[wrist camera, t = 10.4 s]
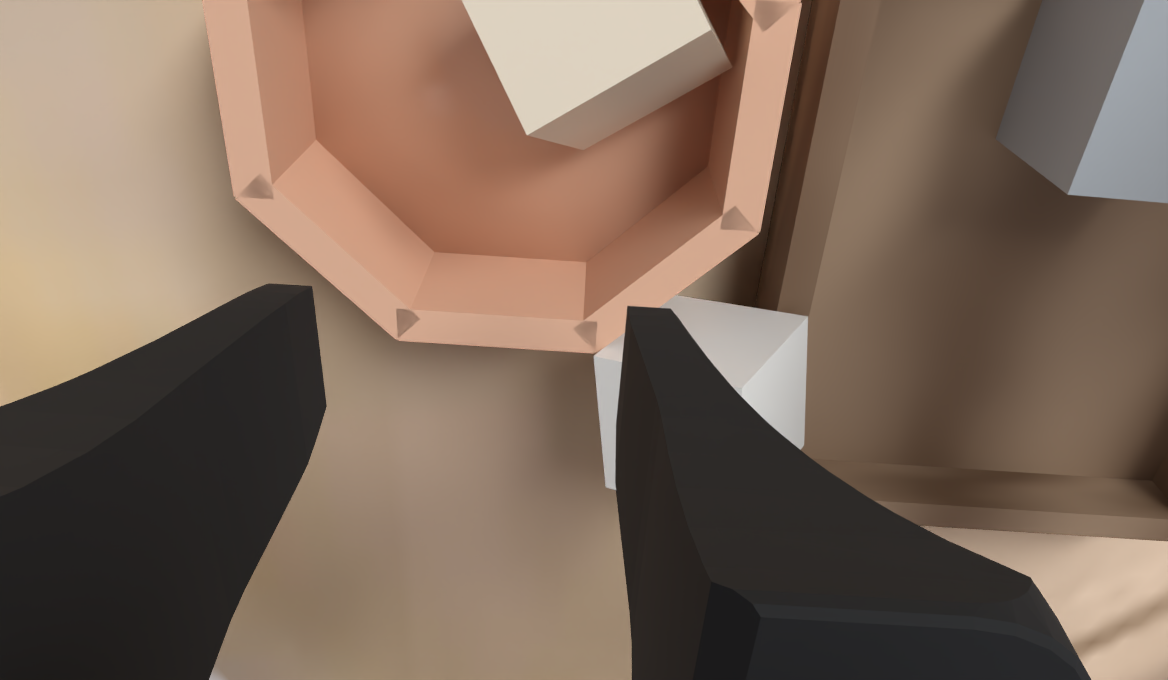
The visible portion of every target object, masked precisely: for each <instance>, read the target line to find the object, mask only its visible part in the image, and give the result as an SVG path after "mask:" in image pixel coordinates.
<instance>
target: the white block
mask: <svg viewBox="0 0 1168 680" xmlns="http://www.w3.org/2000/svg"><path fill="white" fill-rule="evenodd" d="M659 308H671V309H672V311H673V312H674V313H675V314H676V315H677V317H678V318H679V319H680V321H681V322H682V324H683V325H684V326H685V328H686V329H687V331H688V332H689V333H690V335H691V336H692V337H693V339H694V340H695V341H696V343H697V344H698V345H699V347H700V348H701V349H702V351H703V352H704V353H705V355H706V356H707V357H708V358H709V360H710V361H711V362H712V363H713V365H714V366H715V367H716V368H717V369H718V370H719V372H720V373H721V374H722V375H723V376H724V378H725V379H726V380H727V381H728V382H729V383H730V385H731V386H732V387H733V388H734V389H735V390H736V391H737V392H738V394H739V395H740V396H741V397H742V398H743V399H744V400H745V401H746V402H747V403H748V404H749V405H750V406H751V407H752V408H753V409H754V410H755V411H756V412H757V413H758V414H759V415H760V416H761V417H762V418H764V419H765V420H766V421H767V422H768V423H769V424H770V425H771V426H772V427H773V428H775V429H776V430H777V431H778V432H779V433H780V434H782V435H783V436H784V437H785V438H787V439H788V440H789V441H790V442H791V443H793V444H794V445H795V446H796V447H798V448H799V449H800V450H801V449H802V447H803V446H804V434H805V401H806V368H807V335H808V316H802V315H796V314H790V313H784V312H778V311H771V310H765V309H759V308H753V307H747V306H741V305H734V304H728V303H722V302H716V301H710V300H704V299H697V298H691V297H685V296H679V295H675V296H674V297H673V298H671V299H670V300H668V301H667V302H666V303H664V304H663V305H662V306H660V307H659ZM624 336H625V333H624V334H622V335H621V336H619V337H618V338H617V339H615V340H614V341H613V342H611V343H610V344H609V345H607V346H606V347H604V348H603V349H602V350H601V351H599V352H598V353H597V354H595V355H594V367H595V378H596V389H597V399H598V410H599V421H600V432H601V443H602V454H603V464H604V475H605V486H606V487H607V488H610V489H613V490H616V484H615V458H616V419H617V409H618V398H619V388H620V377H621V367H622V357H623V346H624Z"/></svg>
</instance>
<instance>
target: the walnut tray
mask: <svg viewBox="0 0 1168 680" xmlns="http://www.w3.org/2000/svg"><path fill="white" fill-rule="evenodd" d="M1041 3H1042V0H812V5H811V10H810V16H809V21H808V26H807V31H806V37H805V42H804V47H803V53H802V58H801V63H800V69H799V74H798V79H797V85H796V90H795V95H794V101H793V106H792V111H791V117H790V122H789V127H788V132H787V138H786V143H785V148H784V154H783V159H782V164H781V170H780V175H779V180H778V186H777V191H776V196H775V202H774V207H773V212H772V217H771V223H770V228H769V233H768V239H767V244H766V249H765V255H764V260H763V265H762V271H761V276H760V281H759V287H758V292H757V297H756V302H755V308H759V309H765V310H771V311H778V312H784V313H790V314H796V315H802V316H808V335H807V368H806V401H805V434H804V446H803V447H802V449H801V451H802V452H804V453H805V454H806V455H807V456H809V457H810V458H811V459H813V460H814V461H815V462H817V463H818V464H820V465H821V466H822V467H824V468H825V469H826V470H828V471H829V472H831V473H832V474H834V475H835V476H837V477H838V478H840V479H841V480H843V481H844V482H846V483H847V484H849V485H850V486H852V487H853V488H855V489H856V490H858V491H859V492H861V493H862V494H864V495H865V496H867V497H869V498H870V499H872V500H874V501H875V502H877V503H879V504H881V505H882V506H884V507H886V508H887V509H889V510H891V511H892V512H894V513H896V514H898V515H900V516H902V517H903V518H905V519H907V520H909V521H911V522H913V523H915V524H916V525H920V526H936V527H952V528H967V529H983V530H999V531H1014V532H1030V533H1046V534H1062V535H1077V536H1093V537H1109V538H1125V539H1140V540H1156V541H1168V203H1160V202H1148V201H1137V200H1125V199H1113V198H1101V197H1090V196H1078V195H1067V194H1066V193H1065V192H1063V191H1062V190H1061V189H1060V188H1058V187H1057V186H1056V185H1054V184H1053V183H1052V182H1051V181H1049V180H1048V179H1047V178H1045V177H1044V176H1043V175H1041V174H1040V173H1039V172H1038V171H1036V170H1035V169H1034V168H1032V167H1031V166H1030V165H1028V164H1027V163H1026V162H1025V161H1023V160H1022V159H1021V158H1019V157H1018V156H1017V155H1015V154H1014V153H1013V152H1012V151H1010V150H1009V149H1008V148H1006V147H1005V146H1004V145H1003V144H1001V143H1000V142H999V141H997V140H996V136H997V133H998V130H999V127H1000V124H1001V121H1002V118H1003V115H1004V112H1005V109H1006V106H1007V103H1008V101H1009V98H1010V95H1011V92H1012V89H1013V86H1014V83H1015V80H1016V77H1017V74H1018V71H1019V68H1020V65H1021V62H1022V59H1023V56H1024V53H1025V50H1026V47H1027V44H1028V41H1029V38H1030V35H1031V32H1032V29H1033V26H1034V23H1035V20H1036V17H1037V14H1038V12H1039V9H1040V6H1041Z"/></svg>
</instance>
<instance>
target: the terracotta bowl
mask: <svg viewBox="0 0 1168 680" xmlns="http://www.w3.org/2000/svg"><path fill="white" fill-rule="evenodd" d="M701 2H702V4H703V6H704V8H705V10H706V12H707V14H708V16H709V18H710V21H711V23H712V25H713V27H714V29H715V31H716V33H717V35H718V37H719V39H720V42H721V44H722V46H723V48H724V50H725V52H726V54H727V56H728V58H729V60H730V63H731V65H732V68H731V69H729V70H727V71H725V72H723V73H722V74H720V75H718V76H716V77H714V78H713V79H711V80H709V81H707V82H705V83H704V84H702V85H700V86H698V87H696V88H695V89H693V90H691V91H689V92H687V93H686V94H684V95H682V96H680V97H678V98H677V99H675V100H673V101H671V102H669V103H668V104H666V105H664V106H662V107H660V108H659V109H657V110H655V111H653V112H651V113H650V114H648V115H646V116H644V117H642V118H641V119H639V120H637V121H635V122H633V123H632V124H630V125H628V126H626V127H624V128H623V129H621V130H619V131H617V132H615V133H614V134H612V135H610V136H608V137H606V138H605V139H603V140H601V141H599V142H597V143H596V144H594V145H592V146H590V147H588V148H586V149H585V150H581V149H577V148H573V147H569V146H565V145H562V144H558V143H554V142H550V141H546V140H543V139H539V138H535V137H531V136H527V135H526V133H525V130H524V128H523V126H522V124H521V122H520V120H519V118H518V116H517V114H516V112H515V110H514V108H513V106H512V104H511V101H510V99H509V97H508V95H507V93H506V91H505V89H504V87H503V85H502V83H501V81H500V79H499V77H498V74H497V72H496V70H495V68H494V66H493V64H492V62H491V60H490V58H489V56H488V54H487V52H486V50H485V48H484V45H483V43H482V41H481V39H480V37H479V35H478V33H477V31H476V29H475V27H474V25H473V23H472V21H471V19H470V16H469V14H468V12H467V10H466V8H465V6H464V4H463V2H462V0H202V3H203V9H204V16H205V22H206V28H207V34H208V41H209V47H210V53H211V59H212V65H213V72H214V78H215V84H216V90H217V96H218V103H219V109H220V115H221V121H222V127H223V134H224V140H225V146H226V152H227V158H228V165H229V171H230V177H231V183H232V189H233V196H234V197H236V198H235V199H236V200H237V201H238V202H239V203H240V204H241V205H242V206H244V207H245V208H246V209H247V210H248V211H249V212H250V213H252V214H253V215H254V216H255V217H256V218H257V219H258V220H260V221H261V222H262V223H263V224H264V225H265V226H266V227H268V228H269V229H270V230H271V231H272V232H273V233H274V234H276V235H277V236H278V237H279V238H280V239H281V240H282V241H284V242H285V243H286V244H287V245H288V246H289V247H290V248H292V249H293V250H294V251H295V252H296V253H297V254H298V255H300V256H301V257H302V258H303V259H304V260H305V261H306V262H308V263H309V264H310V265H311V266H312V267H313V268H314V269H316V270H317V271H318V272H319V273H320V274H321V275H322V276H324V277H325V278H326V279H327V280H328V281H329V282H330V283H332V284H333V285H334V286H335V287H336V288H337V289H338V290H339V291H341V292H342V293H343V294H344V295H345V296H346V297H347V298H349V299H350V300H351V301H352V302H353V303H354V304H355V305H357V306H358V307H359V308H360V309H361V310H362V311H363V312H365V313H366V314H367V315H368V316H369V317H370V318H371V319H373V320H374V321H375V322H376V323H377V324H378V325H379V326H381V327H382V328H383V329H384V330H385V331H386V332H387V333H389V334H390V335H391V336H392V337H393V338H394V339H395V340H397V339H398V341H410V342H425V343H440V344H455V345H471V346H486V347H501V348H517V349H532V350H547V351H563V352H578V353H593V354H595V352H596V353H598V352H599V351H600V350H602V349H603V348H604V347H606V346H607V345H609V344H610V343H611V342H613V341H614V340H615V339H617V338H618V337H619V336H621V335H622V334H624V333H625V325H626V315H627V306H638V307H655V308H659V307H660V306H662V305H663V304H664V303H666V302H667V301H668V300H670V299H671V298H673V297H674V296H675V295H677V294H678V293H679V292H681V291H682V290H683V289H685V288H686V287H688V286H689V285H690V284H692V283H693V282H694V281H696V280H697V279H698V278H700V277H701V276H702V275H704V274H705V273H707V272H708V271H709V270H711V269H712V268H713V267H715V266H716V265H717V264H719V263H720V262H722V261H723V260H724V259H726V258H727V257H728V256H730V255H731V254H732V253H734V252H735V251H736V250H738V249H739V248H741V247H742V246H743V245H745V244H746V243H747V242H749V241H750V240H751V239H753V238H754V237H756V236H757V235H758V234H759V233H758V232H760V231H761V225H762V220H763V214H764V209H765V203H766V198H767V192H768V187H769V181H770V176H771V170H772V165H773V159H774V154H775V148H776V143H777V137H778V132H779V127H780V121H781V116H782V110H783V105H784V99H785V94H786V88H787V83H788V77H789V72H790V66H791V61H792V55H793V50H794V44H795V39H796V33H797V28H798V22H799V17H800V11H801V6H802V3H801V0H701Z"/></svg>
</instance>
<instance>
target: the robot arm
mask: <svg viewBox="0 0 1168 680" xmlns="http://www.w3.org/2000/svg"><path fill="white" fill-rule="evenodd" d="M325 410H326V398H325V390H324V381H323V373H322V365H321V356H320V348H319V340H318V331H317V323H316V315H315V306H314V298H313V290H312V286H299V285H283V284H266V285H264V286H261V287H258V288H256V289H254V290H252V291H249V292H247V293H245V294H243V295H241V296H239V297H237V298H235V299H233V300H231V301H229V302H227V303H226V304H224V305H222V306H220V307H218V308H216V309H214V310H212V311H210V312H209V313H207V314H205V315H203V316H201V317H199V318H197V319H195V320H193V321H191V322H190V323H188V324H186V325H184V326H182V327H180V328H178V329H176V330H174V331H172V332H171V333H169V334H167V335H165V336H163V337H161V338H159V339H157V340H155V341H153V342H151V343H149V344H147V345H145V346H143V347H140V348H138V349H136V350H134V351H132V352H130V353H128V354H126V355H124V356H122V357H119V358H117V359H115V360H113V361H111V362H109V363H107V364H105V365H103V366H101V367H98V368H96V369H94V370H92V371H90V372H88V373H85V374H83V375H81V376H78V377H76V378H74V379H71V380H69V381H67V382H64V383H62V384H59V385H57V386H54V387H52V388H49V389H47V390H44V391H41V392H39V393H36V394H33V395H31V396H28V397H25V398H23V399H20V400H17V401H15V402H12V403H9V404H7V405H4V406H1V407H0V680H209V678H210V675H211V672H212V670H213V667H214V664H215V662H216V659H217V656H218V653H219V651H220V648H221V645H222V643H223V640H224V637H225V635H226V632H227V629H228V627H229V624H230V621H231V619H232V617H233V614H234V612H235V610H236V608H237V605H238V603H239V601H240V599H241V597H242V594H243V592H244V590H245V588H246V586H247V584H248V582H249V580H250V578H251V576H252V574H253V572H254V570H255V568H256V566H257V564H258V562H259V560H260V558H261V557H262V555H263V553H264V551H265V549H266V547H267V545H268V543H269V541H270V539H271V537H272V535H273V533H274V531H275V529H276V527H277V525H278V523H279V521H280V519H281V517H282V515H283V513H284V511H285V509H286V507H287V505H288V503H289V501H290V499H291V497H292V495H293V493H294V491H295V489H296V487H297V485H298V483H299V481H300V479H301V477H302V475H303V473H304V471H305V469H306V467H307V465H308V462H309V459H310V456H311V453H312V450H313V447H314V445H315V442H316V439H317V436H318V432H319V429H320V426H321V423H322V419H323V416H324V413H325ZM615 484H616V494H617V503H618V512H619V522H620V531H621V540H622V548H623V557H624V566H625V575H626V584H627V593H628V602H629V610H630V624H631V639H632V680H1091V678H1090V676H1089V675H1088V673H1087V671H1086V669H1085V668H1084V666H1083V664H1082V662H1081V661H1080V659H1079V657H1078V655H1077V653H1076V652H1075V650H1074V648H1073V646H1072V644H1071V642H1070V640H1069V639H1068V637H1067V635H1066V633H1065V631H1064V629H1063V628H1062V626H1061V624H1060V622H1059V620H1058V618H1057V617H1056V615H1055V614H1054V612H1053V611H1052V609H1051V608H1050V606H1049V605H1048V603H1047V602H1046V600H1045V598H1044V597H1043V595H1042V594H1041V592H1040V591H1039V589H1038V588H1037V587H1036V585H1035V584H1034V582H1033V581H1032V579H1031V578H1030V577H1028V576H1026V575H1024V574H1021V573H1019V572H1017V571H1015V570H1012V569H1010V568H1008V567H1006V566H1003V565H1001V564H999V563H997V562H994V561H992V560H990V559H988V558H985V557H983V556H981V555H979V554H976V553H974V552H972V551H970V550H967V549H965V548H963V547H961V546H958V545H956V544H954V543H952V542H949V541H947V540H945V539H943V538H941V537H939V536H937V535H935V534H933V533H931V532H930V531H928V530H926V529H924V528H922V527H920V526H918V525H916V524H915V523H913V522H911V521H909V520H907V519H905V518H903V517H902V516H900V515H898V514H896V513H894V512H892V511H891V510H889V509H887V508H886V507H884V506H882V505H881V504H879V503H877V502H875V501H874V500H872V499H870V498H869V497H867V496H865V495H864V494H862V493H861V492H859V491H858V490H856V489H855V488H853V487H852V486H850V485H849V484H847V483H846V482H844V481H843V480H841V479H840V478H838V477H837V476H835V475H834V474H832V473H831V472H829V471H828V470H826V469H825V468H824V467H822V466H821V465H820V464H818V463H817V462H815V461H814V460H813V459H811V458H810V457H809V456H807V455H806V454H805V453H804V452H802V451H801V450H800V449H799V448H798V447H796V446H795V445H794V444H793V443H791V442H790V441H789V440H788V439H787V438H785V437H784V436H783V435H782V434H780V433H779V432H778V431H777V430H776V429H775V428H773V427H772V426H771V425H770V424H769V423H768V422H767V421H766V420H765V419H764V418H762V417H761V416H760V415H759V414H758V413H757V412H756V411H755V410H754V409H753V408H752V407H751V406H750V405H749V404H748V403H747V402H746V401H745V400H744V399H743V398H742V397H741V396H740V395H739V394H738V392H737V391H736V390H735V389H734V388H733V387H732V386H731V385H730V383H729V382H728V381H727V380H726V379H725V378H724V376H723V375H722V374H721V373H720V372H719V370H718V369H717V368H716V367H715V366H714V365H713V363H712V362H711V361H710V360H709V358H708V357H707V356H706V355H705V353H704V352H703V351H702V349H701V348H700V347H699V345H698V344H697V343H696V341H695V340H694V339H693V337H692V336H691V335H690V333H689V332H688V331H687V329H686V328H685V326H684V325H683V324H682V322H681V321H680V319H679V318H678V317H677V315H676V314H675V313H674V312H673V311H672V309H671V308H655V307H638V306H627V315H626V325H625V336H624V346H623V357H622V367H621V377H620V388H619V398H618V409H617V419H616V458H615Z"/></svg>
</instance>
